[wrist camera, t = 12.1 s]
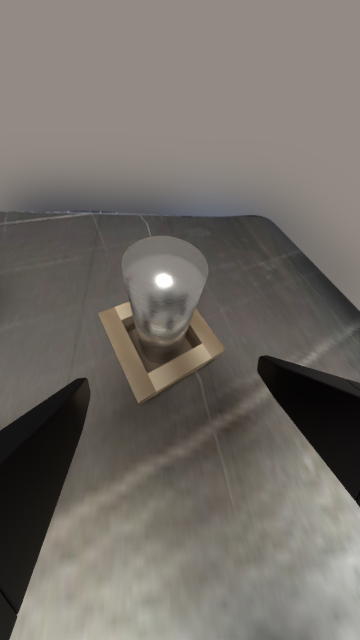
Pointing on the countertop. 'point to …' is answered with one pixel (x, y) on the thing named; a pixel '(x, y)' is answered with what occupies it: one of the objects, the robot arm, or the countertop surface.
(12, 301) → the countertop surface
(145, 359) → the block
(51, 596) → the countertop surface
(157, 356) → the steel peg
